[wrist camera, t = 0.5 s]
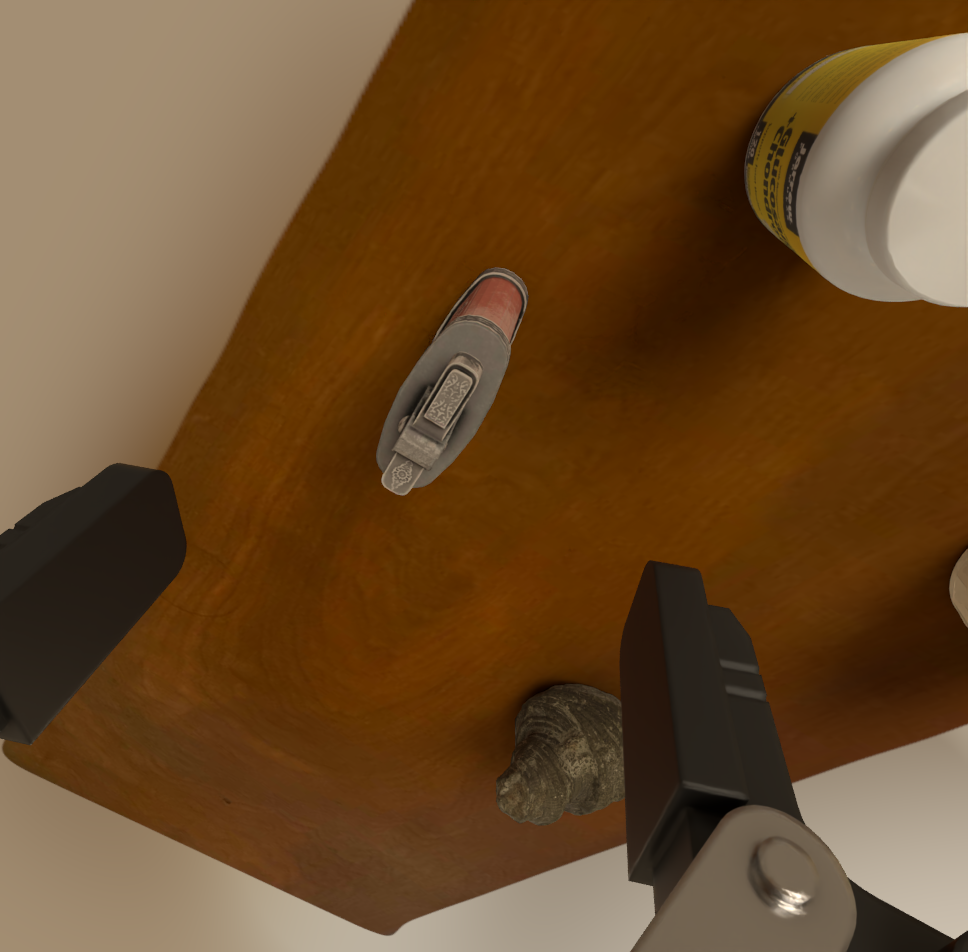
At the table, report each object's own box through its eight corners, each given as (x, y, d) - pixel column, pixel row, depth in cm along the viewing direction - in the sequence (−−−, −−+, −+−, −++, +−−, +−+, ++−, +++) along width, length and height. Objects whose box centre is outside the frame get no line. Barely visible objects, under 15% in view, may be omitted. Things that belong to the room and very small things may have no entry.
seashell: (565, 704, 33) (440, 755, 38) (675, 910, 31) (529, 938, 36) (619, 640, 43) (515, 686, 48) (705, 793, 41) (588, 826, 46)
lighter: (462, 420, 31) (414, 539, 23) (406, 387, 31) (337, 497, 23) (545, 293, 27) (522, 382, 19) (482, 252, 27) (430, 326, 18)
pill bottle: (749, 64, 21) (873, 45, 12) (952, 32, 20) (1275, -17, 11) (732, 249, 25) (818, 352, 15) (904, 233, 24) (1116, 333, 14)
